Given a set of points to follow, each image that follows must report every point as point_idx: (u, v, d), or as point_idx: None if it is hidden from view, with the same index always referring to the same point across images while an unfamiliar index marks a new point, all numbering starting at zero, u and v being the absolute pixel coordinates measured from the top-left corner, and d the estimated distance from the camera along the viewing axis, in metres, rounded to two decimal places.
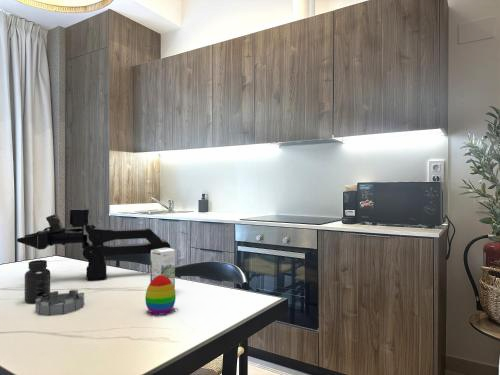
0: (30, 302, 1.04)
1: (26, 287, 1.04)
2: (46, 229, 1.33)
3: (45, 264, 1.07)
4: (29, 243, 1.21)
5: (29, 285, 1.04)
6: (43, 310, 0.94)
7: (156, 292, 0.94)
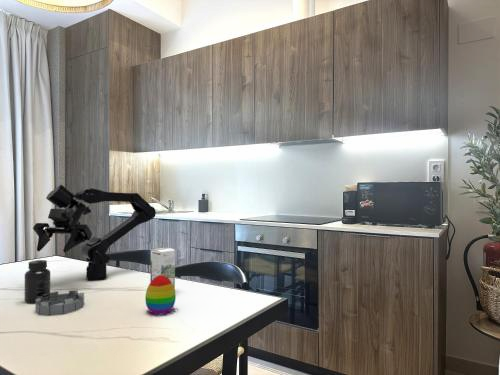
0: (30, 302, 1.04)
1: (26, 287, 1.04)
2: None
3: (45, 264, 1.07)
4: (75, 244, 1.18)
5: (29, 285, 1.04)
6: (43, 310, 0.94)
7: (156, 292, 0.94)
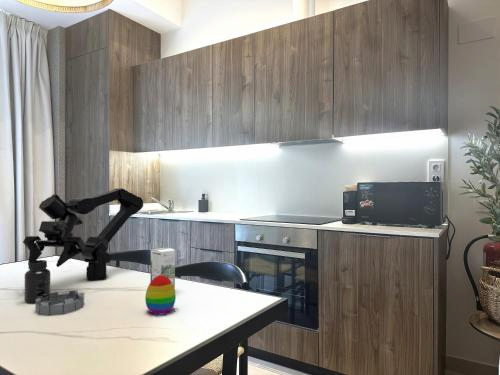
0: (30, 302, 1.04)
1: (26, 287, 1.04)
2: None
3: (45, 264, 1.07)
4: (68, 257, 1.13)
5: (29, 285, 1.04)
6: (43, 310, 0.94)
7: (156, 292, 0.94)
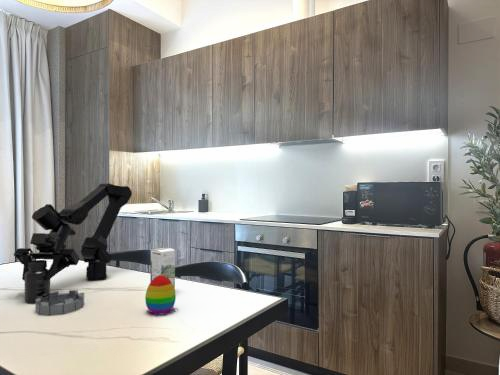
0: (30, 302, 1.04)
1: (26, 287, 1.04)
2: None
3: (45, 264, 1.07)
4: (57, 270, 1.09)
5: (29, 285, 1.04)
6: (43, 310, 0.94)
7: (156, 292, 0.94)
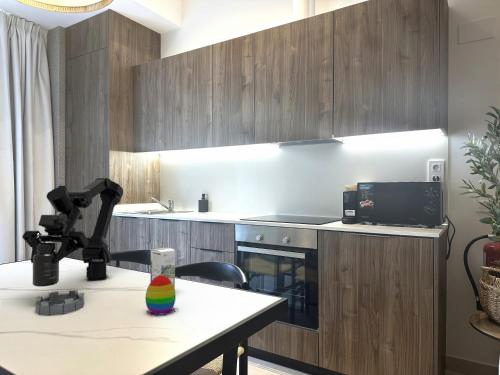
0: (38, 285, 1.01)
1: (34, 269, 1.01)
2: None
3: (54, 246, 1.04)
4: (66, 253, 1.06)
5: (37, 267, 1.01)
6: (43, 310, 0.94)
7: (156, 292, 0.94)
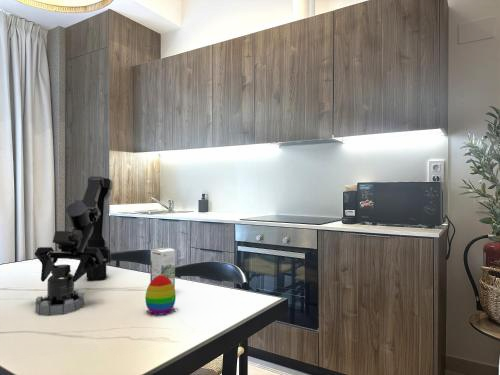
0: None
1: (49, 294, 0.97)
2: None
3: (69, 269, 1.01)
4: (85, 271, 1.02)
5: (53, 291, 0.97)
6: (43, 310, 0.94)
7: (156, 292, 0.94)
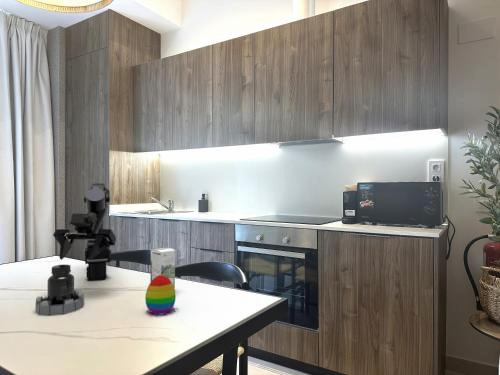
0: None
1: (49, 294, 0.97)
2: None
3: (69, 269, 1.01)
4: (99, 250, 1.11)
5: (53, 291, 0.97)
6: (43, 310, 0.94)
7: (156, 292, 0.94)
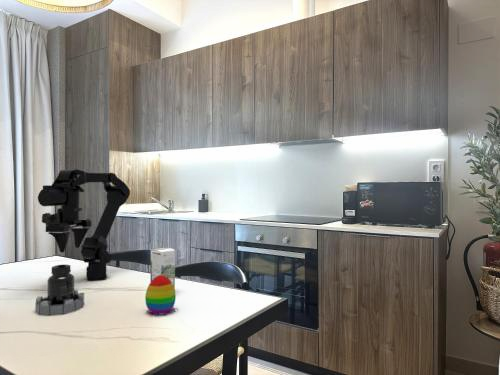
0: None
1: (49, 294, 0.97)
2: (72, 228, 1.28)
3: (69, 269, 1.01)
4: (63, 240, 1.16)
5: (53, 291, 0.97)
6: (43, 310, 0.94)
7: (156, 292, 0.94)
